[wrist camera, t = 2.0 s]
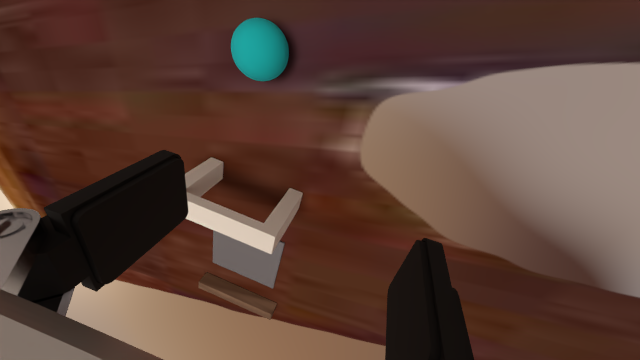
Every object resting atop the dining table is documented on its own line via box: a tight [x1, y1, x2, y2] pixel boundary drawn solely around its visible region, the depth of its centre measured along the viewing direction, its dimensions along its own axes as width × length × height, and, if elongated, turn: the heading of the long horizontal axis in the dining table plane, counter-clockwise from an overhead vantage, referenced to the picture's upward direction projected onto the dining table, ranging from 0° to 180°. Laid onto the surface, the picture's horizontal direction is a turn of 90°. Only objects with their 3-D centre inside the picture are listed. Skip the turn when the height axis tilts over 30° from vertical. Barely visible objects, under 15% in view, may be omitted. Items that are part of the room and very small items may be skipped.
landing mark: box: [213, 231, 285, 288], centre depth 45 cm, size 13×13×1 cm
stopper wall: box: [199, 273, 277, 320], centre depth 51 cm, size 2×16×2 cm, turn 75°
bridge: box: [185, 157, 303, 254], centre depth 33 cm, size 3×14×9 cm, turn 75°
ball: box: [231, 18, 289, 81], centre depth 25 cm, size 6×6×6 cm
